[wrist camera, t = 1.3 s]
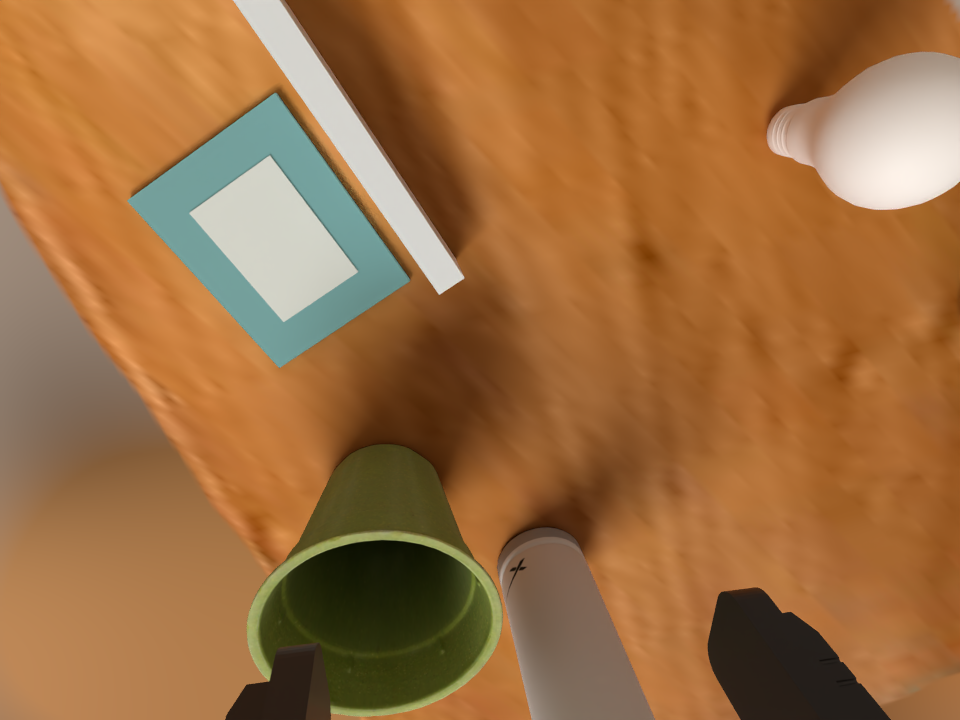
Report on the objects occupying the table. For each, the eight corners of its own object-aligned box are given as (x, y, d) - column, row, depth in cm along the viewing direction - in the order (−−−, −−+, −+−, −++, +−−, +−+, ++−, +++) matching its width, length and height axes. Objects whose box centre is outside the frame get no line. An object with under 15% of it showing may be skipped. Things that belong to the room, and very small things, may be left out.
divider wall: (257, -41, 24) (234, -69, 21) (456, 258, 31) (464, 278, 27) (230, -21, 24) (202, -44, 21) (433, 273, 31) (439, 294, 27)
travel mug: (484, 539, 39) (563, 904, 21) (574, 515, 39) (728, 855, 21) (501, 602, 42) (584, 973, 24) (585, 578, 42) (730, 928, 24)
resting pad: (276, 92, 26) (274, 92, 26) (410, 279, 31) (410, 281, 30) (130, 199, 27) (126, 201, 27) (280, 365, 32) (278, 368, 31)
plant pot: (418, 375, 33) (429, 490, 23) (501, 509, 38) (541, 652, 28) (249, 463, 34) (187, 611, 24) (352, 584, 39) (338, 749, 29)
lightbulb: (713, 182, 31) (864, 214, 21) (745, 60, 29) (931, 31, 19) (809, 192, 32) (995, 226, 22) (847, 75, 30) (1074, 55, 20)
